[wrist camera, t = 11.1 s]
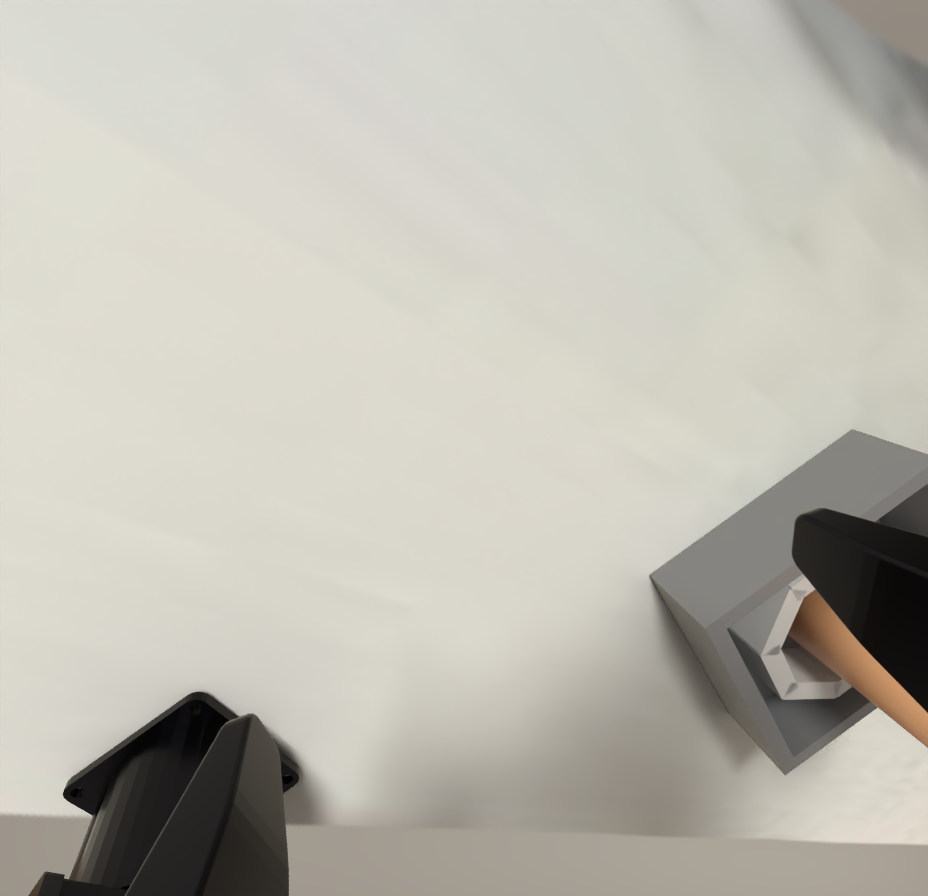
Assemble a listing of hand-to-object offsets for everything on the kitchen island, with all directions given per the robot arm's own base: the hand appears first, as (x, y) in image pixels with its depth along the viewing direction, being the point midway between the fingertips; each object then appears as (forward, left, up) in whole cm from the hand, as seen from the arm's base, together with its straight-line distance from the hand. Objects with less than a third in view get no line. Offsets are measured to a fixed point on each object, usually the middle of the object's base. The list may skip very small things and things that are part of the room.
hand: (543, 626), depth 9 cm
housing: (+11, -20, -13) cm, 26 cm away
